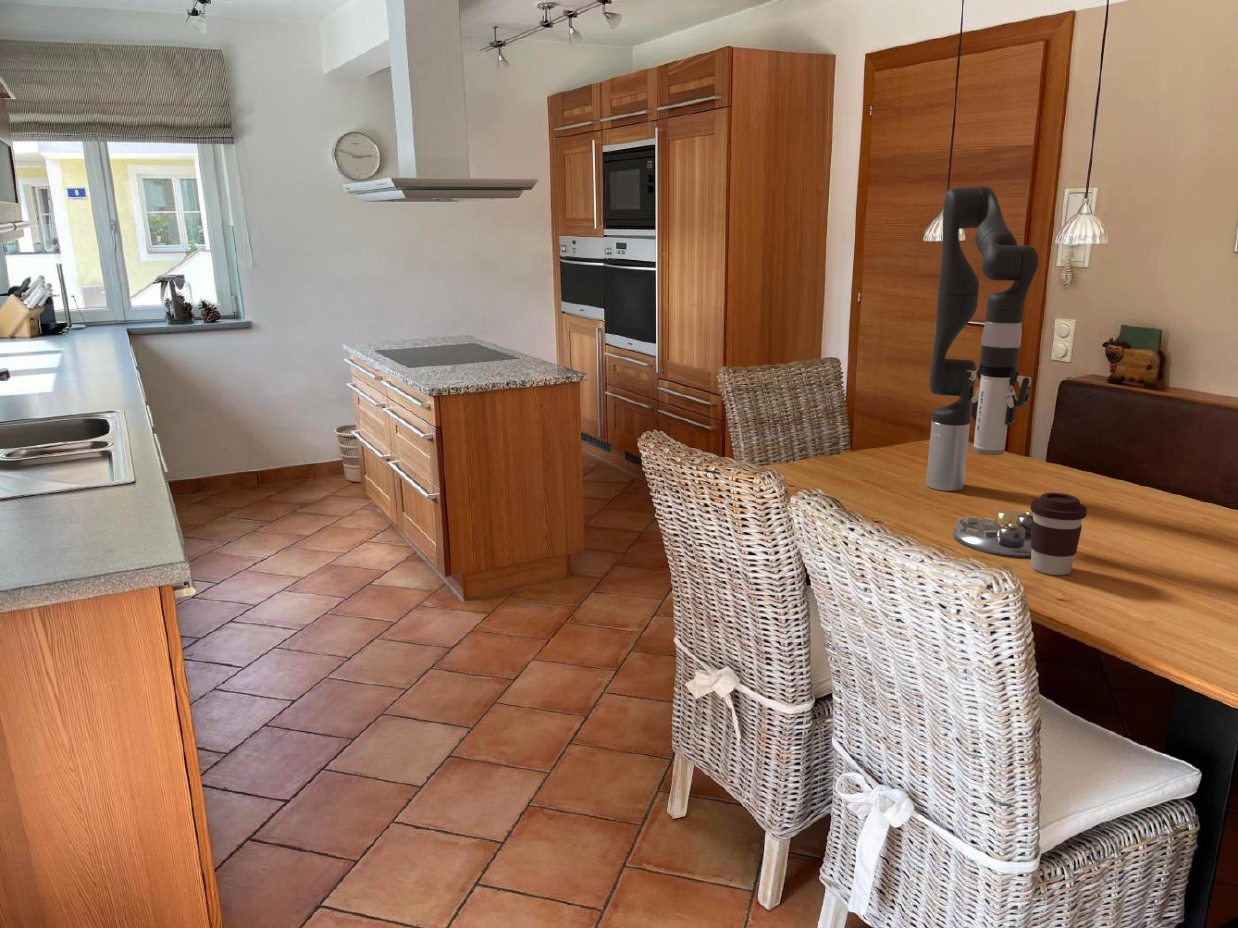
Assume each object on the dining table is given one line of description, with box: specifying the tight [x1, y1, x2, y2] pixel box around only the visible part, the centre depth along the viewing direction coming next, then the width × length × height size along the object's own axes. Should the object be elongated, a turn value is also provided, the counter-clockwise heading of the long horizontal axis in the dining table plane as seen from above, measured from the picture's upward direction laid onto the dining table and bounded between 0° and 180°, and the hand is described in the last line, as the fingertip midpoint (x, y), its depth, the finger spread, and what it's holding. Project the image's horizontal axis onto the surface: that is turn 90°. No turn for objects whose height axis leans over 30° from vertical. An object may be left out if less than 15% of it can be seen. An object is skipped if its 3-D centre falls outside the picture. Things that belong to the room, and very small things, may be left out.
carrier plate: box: [953, 509, 1033, 559], centre depth 195 cm, size 21×21×6 cm
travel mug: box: [972, 366, 1013, 456], centre depth 191 cm, size 6×7×20 cm
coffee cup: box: [1030, 492, 1088, 576], centre depth 177 cm, size 10×10×15 cm
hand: (992, 421), depth 192 cm, fingers closed on travel mug, 6 cm apart
